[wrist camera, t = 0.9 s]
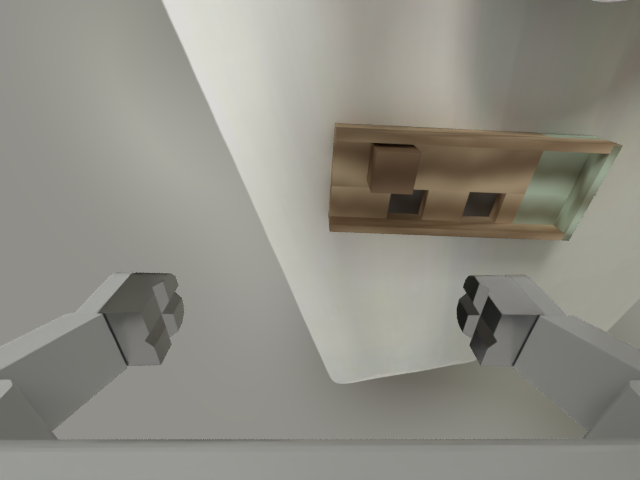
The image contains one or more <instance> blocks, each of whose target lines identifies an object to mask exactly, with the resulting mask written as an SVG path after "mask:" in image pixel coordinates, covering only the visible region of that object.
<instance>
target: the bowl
mask: <svg viewBox="0 0 640 480" xmlns="http://www.w3.org/2000/svg"><path fill="white" fill-rule="evenodd" d="M593 1H600V2H616V1H626V0H593Z"/></svg>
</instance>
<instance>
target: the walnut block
mask: <svg viewBox="0 0 640 480" xmlns="http://www.w3.org/2000/svg"><path fill="white" fill-rule="evenodd" d="M421 154H422V153H421V152H420V151H419V150H418V149H417V148H416V147H415V146H414V145H411V144H390V143H372V144H371V151H370V159H369V166H368V174H367V183H368V186H369V188H370V191H371V193H389V194H413V190H414V185H415V181H416V176H417V172H418V167H419V163H420V159H421Z"/></svg>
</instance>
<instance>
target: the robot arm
mask: <svg viewBox="0 0 640 480" xmlns="http://www.w3.org/2000/svg"><path fill="white" fill-rule="evenodd" d="M177 287H178V282H177V279H176V276H175V275H173V274H171V273H137V272H136V273H133V272H132V273H130V272H117V273H114V274H111V275H110V276H109V278H108V279H107V280H106V281H105V282H104V283H103V284H102V285H101V286H100V287H99V288H98V289H97V290H96V291H95V292H94V293H93V294H92V295H91V296H90V297H89V298H88V299H87V300H86V301H85V302H84V304H83V305H82V306H81V307H80V308H79V309H78V310H77V311H76V312H75V313H71V314H69V313H68V314H66V315H64V316H61V317H59V318H57V319H55V320H53V321H51V322H49V323H47V324H45V325H43V326H41V327H39V328H37V329H35V330H33V331H31V332H29V333H27V334H25V335H23V336H21V337H19V338H17V339H15V340H13V341H11V342H9V343H6V344H5V345H3V346H0V480H640V349H639V348H637V347H635V346H633V345H631V344H629V343H627V342H625V341H623V340H621V339H619V338H617V337H615V336H613V335H611V334H609V333H607V332H605V331H603V330H601V329H599V328H597V327H595V326H593V325H591V324H589V323H587V322H585V321H583V320H581V319H579V318H577V317H575V316H567V315H566V314H565V313H564V312H563V311H562V310H561V309H560V308H559V307H558V306H557V305H556V304H555V303H554V302H553V301H552V300H551V299H550V298H549V297H548V296H547V295H546V294H545V292H544V291H543V290H542V289H541V288H540V287H539V286H538V285H537V284H536V283H535V282H534V281H533V280H532V279H531V278H530V277H528V276H526V275H505V276H468V277H467V279H466V280H465V283H464V286H463V288H464V290H465V291H466V294H465V295H464V296H462V297H461V298H460V299H459V302H458V305H457V320H458V323H459V326H460V328H461V330H462V332H463V333H464V334H466V335H467V336H469V337H470V338H471V342H470V347H471V349H472V351H473V353H474V355H475V356H476V358H477V360H478V362H479V364H480V366H506V367H507V366H508V367H513V369H514V370H516V371H517V372H518V373H519V374H520V375H521V376H523V377H524V378H525V379H526V380H528V381H529V382H530V383H531V384H532V385H533V386H534V387H536V388H537V389H538V390H539V391H541V392H542V393H543V394H544V395H545V396H546V397H548V398H549V399H550V400H551V401H552V402H554V403H555V404H556V405H557V406H558V407H560V408H561V409H562V410H563V411H564V412H565V413H567V414H568V415H569V416H570V417H571V418H572V419H574V420H575V421H576V422H577V423H578V424H580V425H581V426H582V427H583V428H584V429H585V430H587V431H588V432H587V433H586V434H585V435H584V437H583V438H582V439H168V440H167V439H148V440H147V439H146V440H145V439H144V440H143V439H139V440H138V439H135V440H134V439H126V440H125V439H120V440H119V439H115V440H114V439H111V440H110V439H107V440H105V439H102V440H101V439H97V440H95V439H94V440H93V439H92V440H90V439H88V440H87V439H85V440H84V439H76V440H75V439H71V440H58V438H57V437H56V436H55V435H54V433H53V432H52V431H53V430H54V429H55V428H56V427H58V426H59V425H60V424H61V423H62V422H63V421H65V420H66V419H67V418H68V417H69V416H71V415H72V414H73V413H74V412H75V411H77V410H78V409H79V408H80V407H81V406H82V405H84V404H85V403H86V402H87V401H89V400H90V399H91V398H92V397H93V396H94V395H96V394H97V393H98V392H99V391H100V390H102V389H103V388H104V387H105V386H106V385H107V384H109V383H110V382H111V381H112V380H113V379H115V378H116V377H117V376H118V375H119V374H121V373H122V372H123V371H124V370H125V369H127V366H146V365H161V364H162V362H163V360H164V358H165V356H166V354H167V352H168V350H169V348H170V346H171V341H170V338H169V337H171V336H172V335H174V334H175V333H176V332H178V330H179V328H180V326H181V324H182V321H183V316H184V304H183V300H182V298H181V297H180V296H179V295H178V294H177V293H176V292H175V291H176V289H177Z"/></svg>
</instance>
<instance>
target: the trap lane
mask: <svg viewBox="0 0 640 480" xmlns="http://www.w3.org/2000/svg"><path fill="white" fill-rule="evenodd" d="M372 143H390V144H411V145H414V146H415V147H416V148H417V149H418V150H419V151H420V152H421V153H422V154H421V159H420V163H419V167H418V172H417V176H416V181H415V185H414V190H413V194H389V193H371V191H370V188H369V186H368V183H367V174H368V166H369V159H370V151H371V144H372ZM622 146H623V145H620V144H617V143H614V142H611V141H608V140H605V139H602V138H599V137H596V136H588V135H567V134H546V133H526V132H505V131H485V130H464V129H443V128H423V127H402V126H381V125H361V124H340V123H335V133H334V147H333V161H332V175H331V190H330V204H329V230H330V232H355V233H381V234H407V235H433V236H460V237H486V238H512V239H538V240H564V241H569V239H570V238H571V236H572V234H573V232H574V231H575V229H576V227H577V225H578V224H579V222H580V220H581V218H582V216H583V215H584V213H585V211H586V209H587V208H588V206H589V204H590V202H591V201H592V199H593V197H594V195H595V194H596V192H597V190H598V188H599V187H600V185H601V183H602V181H603V180H604V178H605V176H606V174H607V172H608V171H609V169H610V167H611V165H612V164H613V162H614V160H615V158H616V157H617V155H618V153H619V151H620V150H621V148H622Z"/></svg>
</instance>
